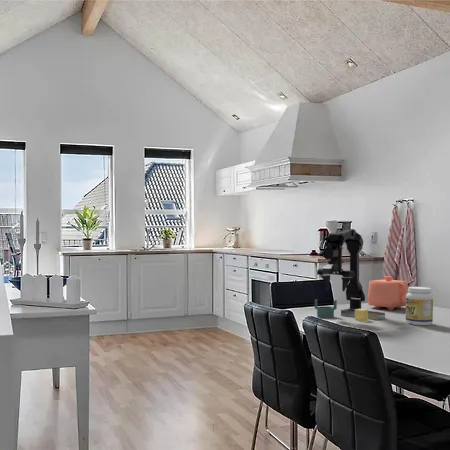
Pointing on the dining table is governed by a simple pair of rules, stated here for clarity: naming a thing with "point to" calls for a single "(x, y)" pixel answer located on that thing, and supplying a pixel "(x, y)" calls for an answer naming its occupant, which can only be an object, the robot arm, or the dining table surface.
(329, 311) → the bracket
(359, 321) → the pad
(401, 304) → the teapot
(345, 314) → the rail
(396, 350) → the dining table surface
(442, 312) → the dining table surface
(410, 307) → the supplement tub
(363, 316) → the block
